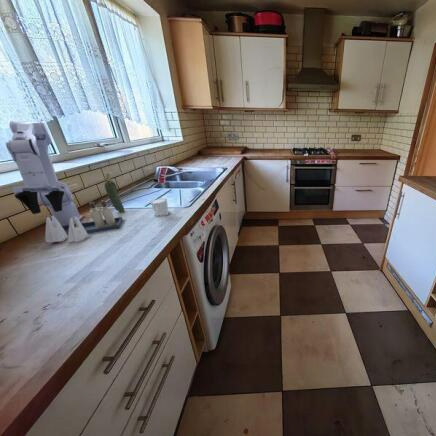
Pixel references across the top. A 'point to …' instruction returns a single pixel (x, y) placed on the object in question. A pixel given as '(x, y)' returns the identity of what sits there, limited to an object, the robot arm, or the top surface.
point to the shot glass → (160, 207)
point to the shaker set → (58, 234)
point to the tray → (91, 226)
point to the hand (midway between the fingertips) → (48, 212)
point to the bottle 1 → (97, 216)
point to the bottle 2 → (108, 214)
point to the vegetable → (113, 193)
